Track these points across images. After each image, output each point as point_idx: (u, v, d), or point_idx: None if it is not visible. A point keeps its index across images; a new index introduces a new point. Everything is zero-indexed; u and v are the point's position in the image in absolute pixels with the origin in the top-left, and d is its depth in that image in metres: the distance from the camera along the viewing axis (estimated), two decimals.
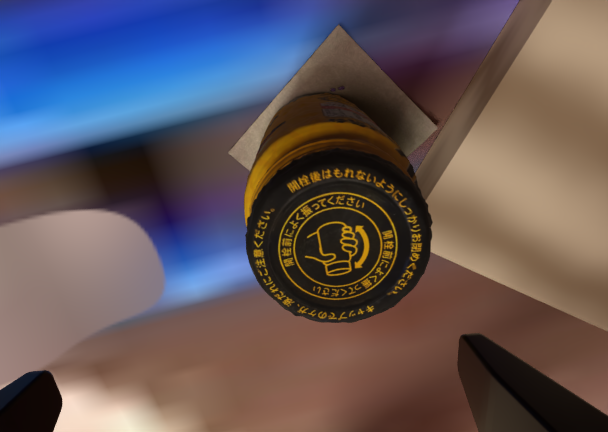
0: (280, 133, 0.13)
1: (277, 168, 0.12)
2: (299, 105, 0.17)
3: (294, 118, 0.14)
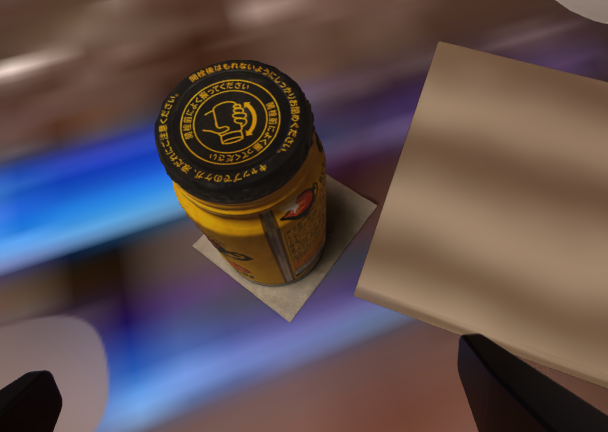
0: None
1: None
2: None
3: None
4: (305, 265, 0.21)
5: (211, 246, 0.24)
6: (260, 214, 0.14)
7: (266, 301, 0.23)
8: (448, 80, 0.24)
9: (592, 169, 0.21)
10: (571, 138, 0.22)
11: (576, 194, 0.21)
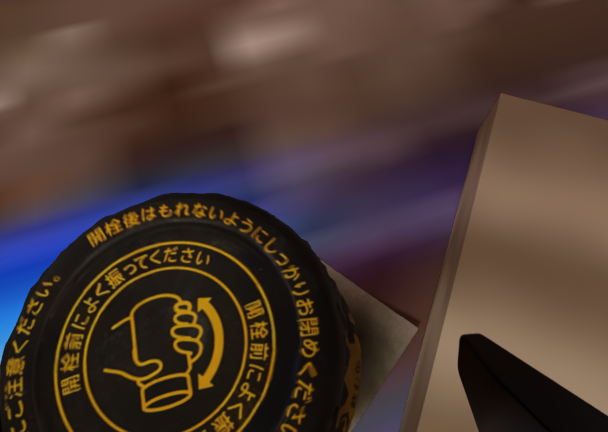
0: None
1: None
2: None
3: None
4: None
5: None
6: None
7: None
8: (518, 152, 0.17)
9: None
10: None
11: None
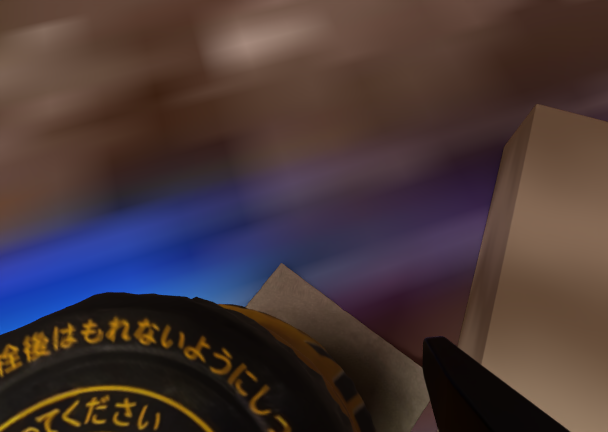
0: None
1: None
2: None
3: None
4: None
5: None
6: None
7: None
8: (559, 174, 0.14)
9: None
10: None
11: None
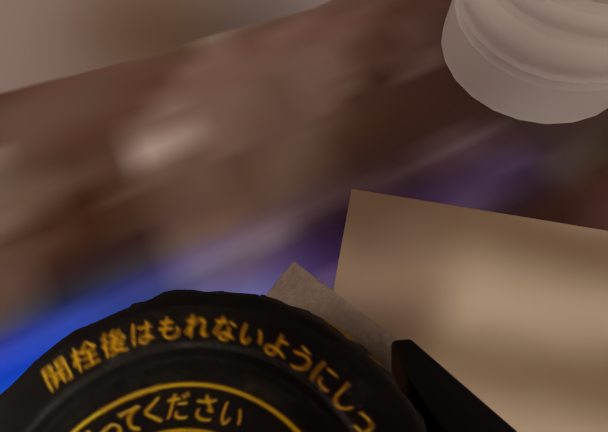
0: None
1: None
2: None
3: None
4: None
5: None
6: None
7: None
8: (366, 240, 0.21)
9: (540, 339, 0.19)
10: (512, 300, 0.19)
11: (527, 376, 0.18)
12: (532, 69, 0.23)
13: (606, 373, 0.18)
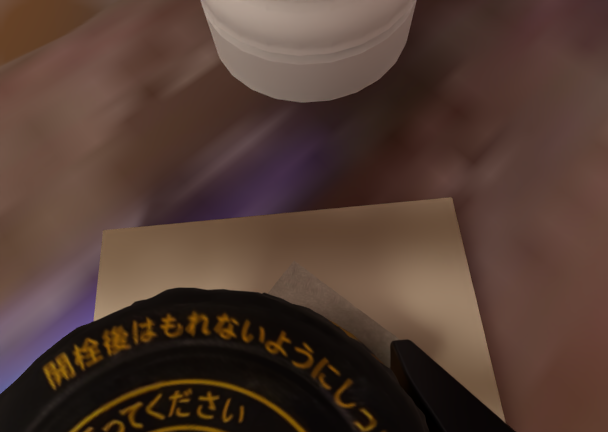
0: None
1: None
2: None
3: None
4: None
5: None
6: None
7: None
8: (125, 287, 0.18)
9: None
10: None
11: None
12: (279, 49, 0.21)
13: None
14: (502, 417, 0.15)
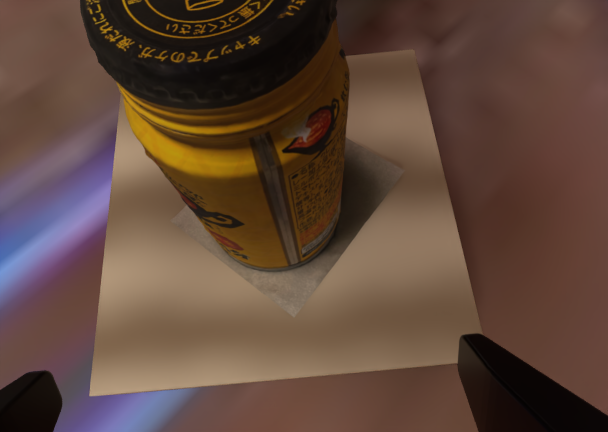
0: None
1: None
2: None
3: None
4: (315, 241, 0.16)
5: (194, 221, 0.19)
6: (252, 140, 0.09)
7: (263, 290, 0.17)
8: None
9: None
10: None
11: None
12: None
13: None
14: (449, 200, 0.19)
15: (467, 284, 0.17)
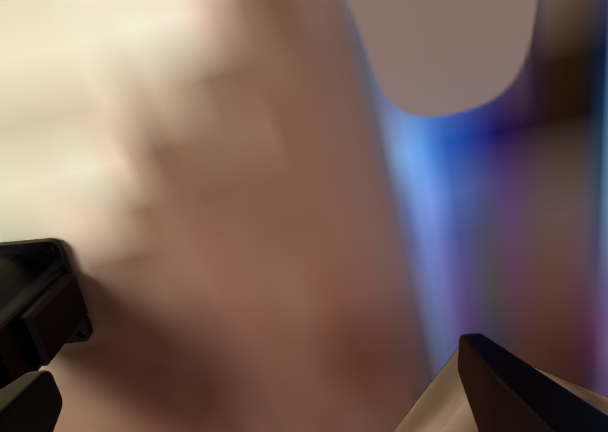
0: None
1: None
2: None
3: None
4: None
5: None
6: None
7: None
8: None
9: None
10: None
11: None
12: None
13: None
14: None
15: None
